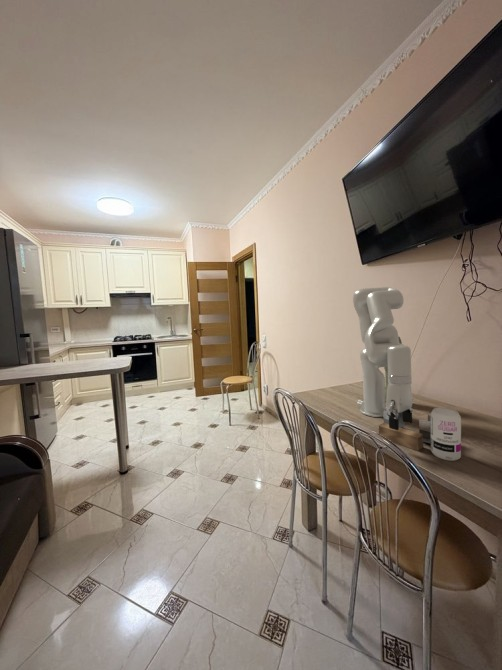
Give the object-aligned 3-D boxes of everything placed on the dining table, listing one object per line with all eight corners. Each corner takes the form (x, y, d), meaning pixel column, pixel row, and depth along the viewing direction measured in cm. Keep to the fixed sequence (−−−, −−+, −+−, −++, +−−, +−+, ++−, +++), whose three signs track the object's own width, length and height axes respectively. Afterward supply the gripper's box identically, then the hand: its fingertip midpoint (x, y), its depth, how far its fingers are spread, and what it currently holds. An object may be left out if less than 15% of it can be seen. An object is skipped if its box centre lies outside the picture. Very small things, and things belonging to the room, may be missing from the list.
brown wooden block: (379, 437, 104) (378, 425, 104) (384, 434, 107) (384, 422, 106) (418, 451, 93) (418, 437, 93) (423, 447, 95) (423, 434, 95)
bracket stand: (382, 429, 111) (382, 409, 110) (392, 424, 115) (392, 405, 114) (434, 447, 95) (434, 423, 94) (444, 440, 99) (444, 417, 99)
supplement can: (447, 448, 94) (447, 406, 93) (467, 460, 86) (467, 415, 85) (425, 449, 94) (424, 407, 92) (442, 462, 85) (442, 417, 84)
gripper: (401, 374, 106) (402, 417, 106) (376, 381, 96) (378, 428, 97) (421, 377, 100) (422, 422, 100) (397, 385, 90) (399, 435, 91)
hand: (400, 425), depth 99 cm, fingers open, 9 cm apart
